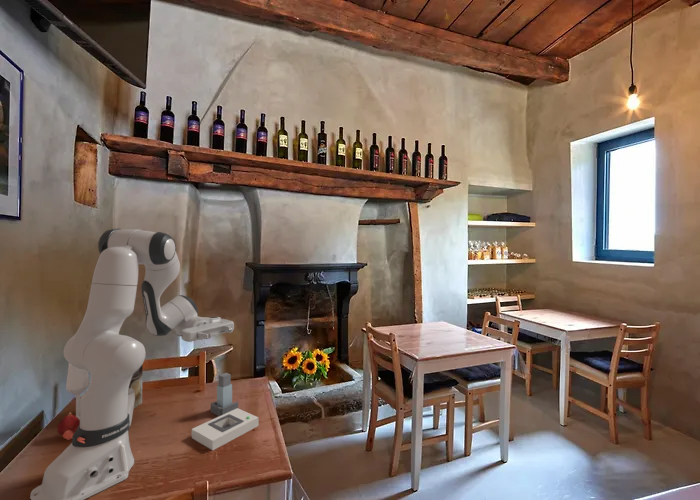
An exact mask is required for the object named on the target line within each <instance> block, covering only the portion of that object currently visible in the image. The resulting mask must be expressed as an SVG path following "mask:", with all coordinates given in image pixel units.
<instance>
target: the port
mask: <svg viewBox="0 0 700 500" xmlns="http://www.w3.org/2000/svg"><path fill="white" fill-rule="evenodd" d="M259 422H260V421H259V417H258V416H256V415H254V414H252V413H249V412H247V411H244V409H243V410H242V409H240V408H239V407H238V408H237V409H234V410H232V411H230V412H228V413H226V414H223V415H221V416H217V417H214V418H213V419H210V420H208V421H206V422H204V423H202V424H200V425H197V426H195V427H193V428H191V439H193V440H194V441H196V442H198V443H199V444H201V445H202V446H204V447H206V448H208V449H209V450H211V451H215V450H216V449H218V448H219V447H222V446H224V445H226V444H228V443H229V442H231V441H233V440H235V439H237V438H238V437H241V436H242V435H245V434H246V433H248V432H250V431H251V430H253V429H255V428H257V427H259V425H260V424H259Z"/></svg>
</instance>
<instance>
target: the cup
mask: <svg viewBox="0 0 700 500" xmlns="http://www.w3.org/2000/svg"><path fill="white" fill-rule="evenodd" d="M134 402H135V393H134V389H131V388H129V389H128V414H129V421H130V426H131V425H132V420H133V413H134V409H135V408H134ZM133 408H134V409H133Z"/></svg>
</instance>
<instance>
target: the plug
mask: <svg viewBox="0 0 700 500" xmlns="http://www.w3.org/2000/svg"><path fill="white" fill-rule="evenodd" d="M231 379H232V375H231V373H228V372H223V373H221V374H218V384H217V385H216V401H217V405H218V406H220V407H222V408H223V407H225V406H228V405H230V404H232V403H233V384H232V383H231V381H232V380H231Z"/></svg>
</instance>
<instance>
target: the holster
mask: <svg viewBox="0 0 700 500" xmlns="http://www.w3.org/2000/svg"><path fill="white" fill-rule="evenodd" d="M237 408H238V409H239V401H234V402H232V404H230V405H228V406H225V407H223V408H222V407H220V406H218V405H217V400H216V401H213V402H210V413H211V414H214V415H215V416H217V417H219V416H221V415H223V414H226V413H228V412H230V411H232V410H234V409H237Z"/></svg>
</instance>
